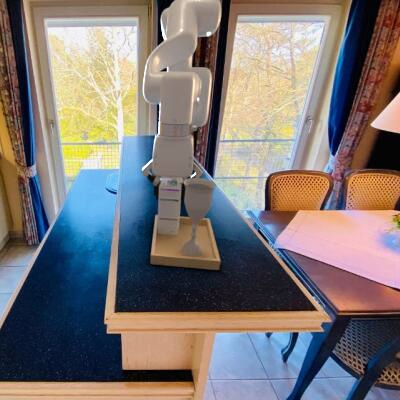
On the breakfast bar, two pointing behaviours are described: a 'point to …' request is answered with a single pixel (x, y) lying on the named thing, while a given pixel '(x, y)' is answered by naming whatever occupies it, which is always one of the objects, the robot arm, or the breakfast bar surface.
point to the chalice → (196, 209)
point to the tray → (172, 245)
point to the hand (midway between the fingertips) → (169, 198)
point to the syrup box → (169, 206)
